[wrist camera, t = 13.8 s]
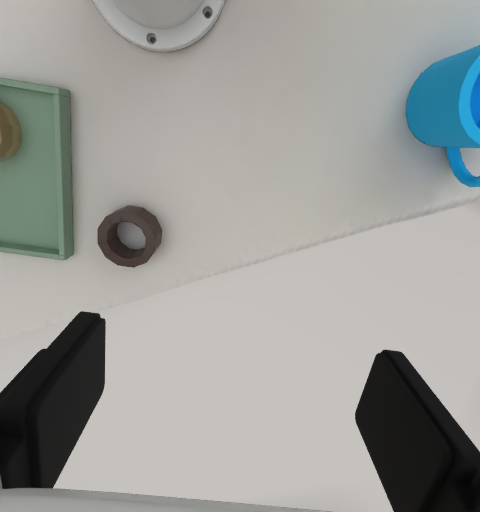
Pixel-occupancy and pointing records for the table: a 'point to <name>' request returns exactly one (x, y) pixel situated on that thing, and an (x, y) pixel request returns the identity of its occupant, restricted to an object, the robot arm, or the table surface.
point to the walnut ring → (118, 250)
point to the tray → (37, 173)
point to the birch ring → (8, 132)
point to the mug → (449, 108)
